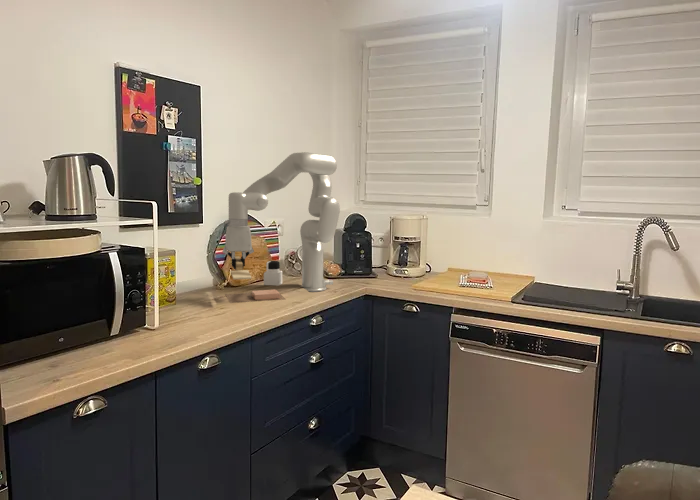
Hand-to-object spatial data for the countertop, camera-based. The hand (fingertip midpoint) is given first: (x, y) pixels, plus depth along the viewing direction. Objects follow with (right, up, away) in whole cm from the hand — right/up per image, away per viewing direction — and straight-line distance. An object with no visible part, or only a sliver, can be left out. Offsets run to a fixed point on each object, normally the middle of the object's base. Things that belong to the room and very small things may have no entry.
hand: (238, 267), depth 213 cm
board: (+7, -13, +1) cm, 15 cm away
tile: (+10, -10, +4) cm, 15 cm away
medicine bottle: (+10, -10, +29) cm, 32 cm away
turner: (+1, -1, -2) cm, 2 cm away
